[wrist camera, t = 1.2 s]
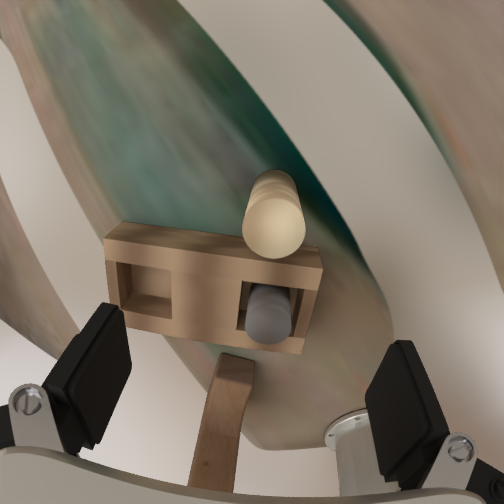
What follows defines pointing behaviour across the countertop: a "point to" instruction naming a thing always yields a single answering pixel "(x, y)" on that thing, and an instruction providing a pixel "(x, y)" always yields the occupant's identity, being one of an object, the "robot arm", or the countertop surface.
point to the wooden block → (222, 425)
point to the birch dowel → (274, 216)
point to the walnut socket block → (211, 287)
